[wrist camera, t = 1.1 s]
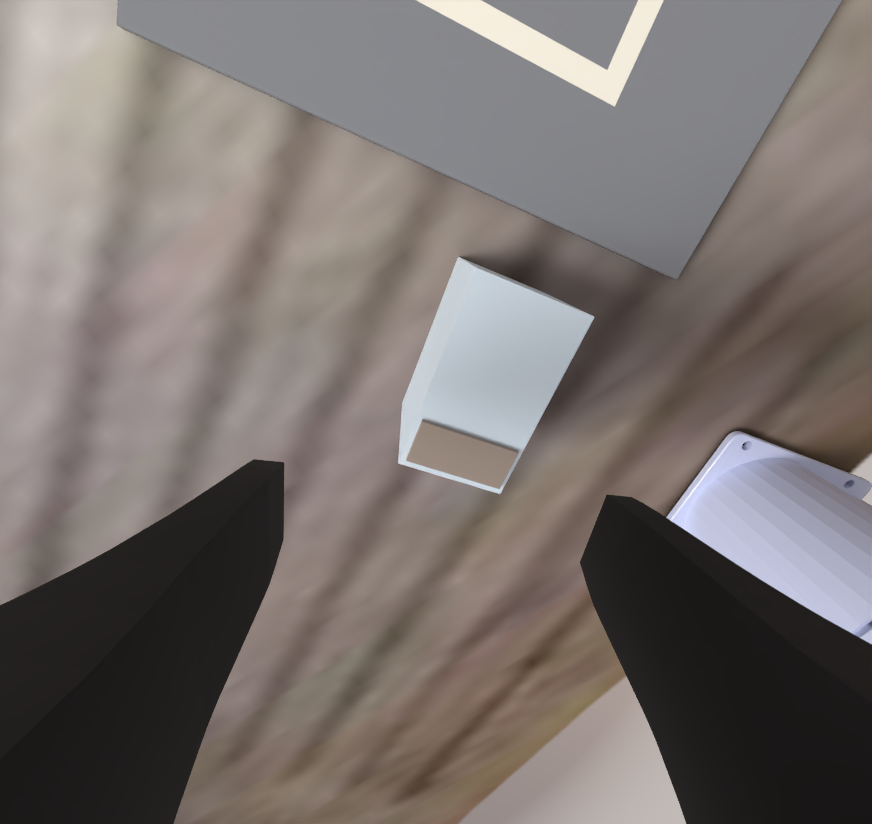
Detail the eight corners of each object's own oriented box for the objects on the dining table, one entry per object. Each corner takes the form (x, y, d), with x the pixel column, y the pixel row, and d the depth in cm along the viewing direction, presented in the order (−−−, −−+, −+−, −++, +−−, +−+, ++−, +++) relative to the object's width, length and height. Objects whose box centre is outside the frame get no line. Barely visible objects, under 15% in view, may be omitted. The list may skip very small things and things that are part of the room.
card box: (543, 291, 18) (597, 317, 12) (478, 428, 20) (501, 497, 15) (457, 256, 17) (477, 268, 12) (402, 402, 19) (397, 466, 14)
